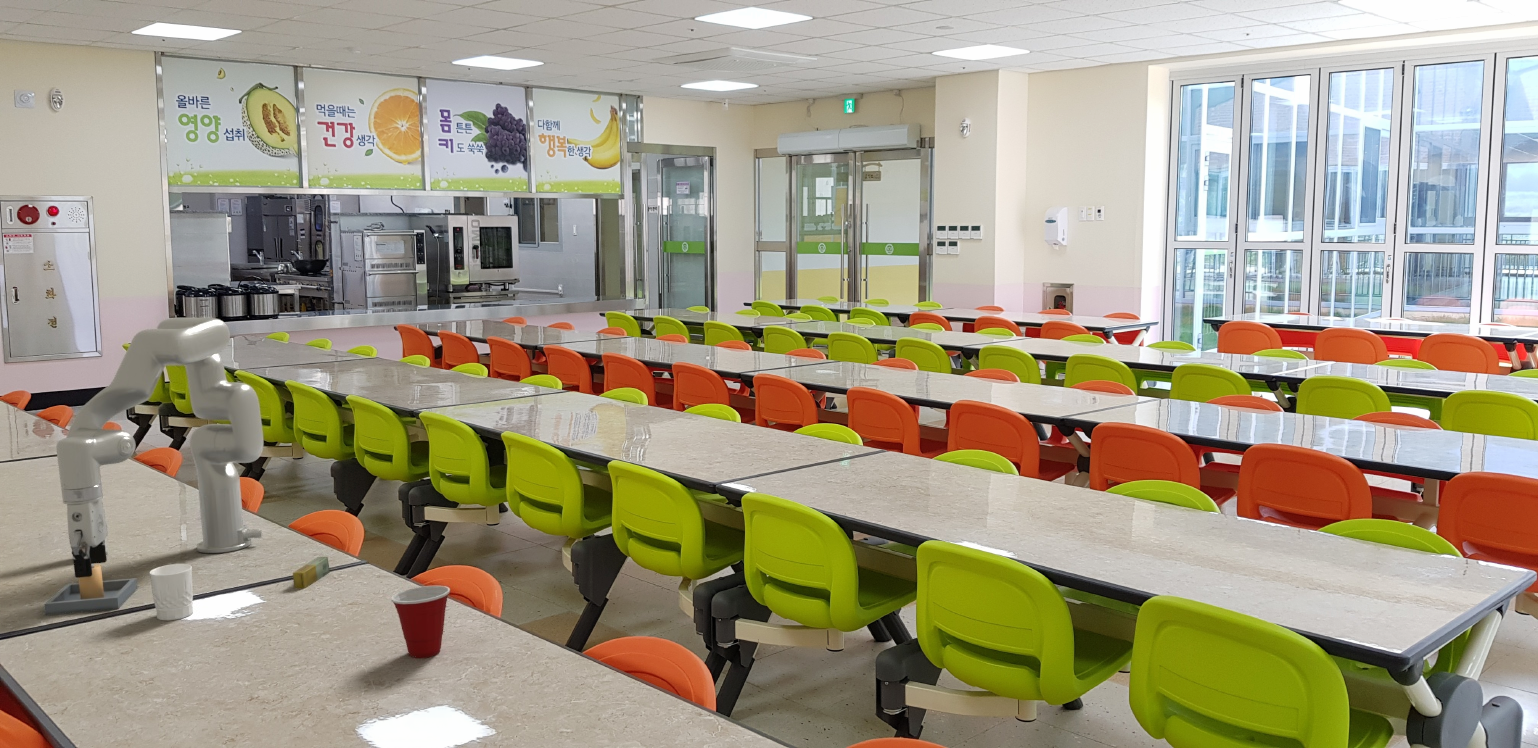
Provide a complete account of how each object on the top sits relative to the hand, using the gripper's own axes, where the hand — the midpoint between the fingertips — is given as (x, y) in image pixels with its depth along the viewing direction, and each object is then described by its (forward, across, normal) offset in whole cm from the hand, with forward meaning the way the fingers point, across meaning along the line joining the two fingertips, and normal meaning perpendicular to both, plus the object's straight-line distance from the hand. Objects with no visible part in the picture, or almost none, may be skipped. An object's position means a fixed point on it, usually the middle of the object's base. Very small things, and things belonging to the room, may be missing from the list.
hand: (91, 569), depth 250 cm
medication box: (+8, +1, -44) cm, 45 cm away
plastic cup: (+7, -53, -72) cm, 89 cm away
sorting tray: (+7, -1, 0) cm, 7 cm away
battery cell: (+6, 0, 0) cm, 7 cm away
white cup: (+7, -16, -20) cm, 26 cm away
